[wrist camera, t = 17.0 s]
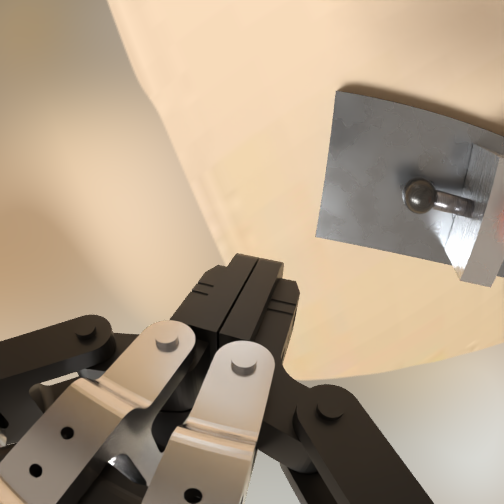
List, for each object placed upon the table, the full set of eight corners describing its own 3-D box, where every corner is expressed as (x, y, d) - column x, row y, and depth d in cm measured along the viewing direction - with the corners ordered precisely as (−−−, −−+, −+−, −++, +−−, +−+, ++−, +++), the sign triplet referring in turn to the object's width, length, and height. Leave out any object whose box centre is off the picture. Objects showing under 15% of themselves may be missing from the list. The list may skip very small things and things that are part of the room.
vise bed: (570, 168, 17) (608, 192, 11) (532, 277, 23) (557, 316, 17) (336, 90, 22) (333, 89, 16) (317, 229, 28) (308, 267, 22)
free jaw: (506, 155, 18) (536, 171, 14) (476, 256, 23) (494, 288, 18) (408, 124, 20) (423, 132, 16) (384, 235, 24) (390, 266, 20)
